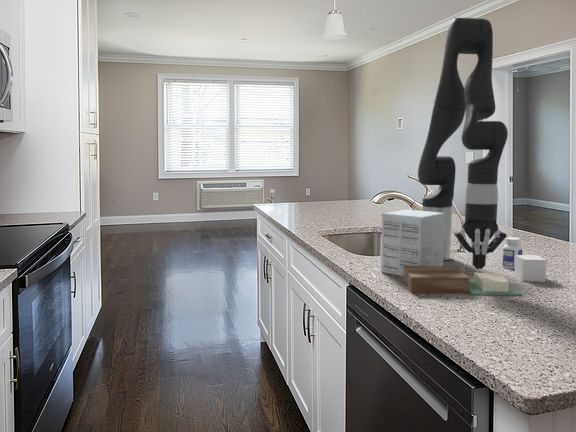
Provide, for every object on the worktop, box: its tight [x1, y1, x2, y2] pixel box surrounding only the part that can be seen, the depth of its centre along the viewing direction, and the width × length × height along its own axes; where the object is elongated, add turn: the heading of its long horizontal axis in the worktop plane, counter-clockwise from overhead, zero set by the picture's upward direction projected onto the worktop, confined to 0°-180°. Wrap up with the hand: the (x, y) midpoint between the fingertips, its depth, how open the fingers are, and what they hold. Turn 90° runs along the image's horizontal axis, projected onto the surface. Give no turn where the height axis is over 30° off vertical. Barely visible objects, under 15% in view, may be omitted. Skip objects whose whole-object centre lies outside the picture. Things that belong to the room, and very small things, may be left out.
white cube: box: [514, 254, 548, 282], centre depth 136 cm, size 6×6×6 cm
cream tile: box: [473, 272, 510, 292], centre depth 127 cm, size 9×6×2 cm, turn 174°
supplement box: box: [380, 209, 445, 277], centre depth 144 cm, size 13×13×18 cm
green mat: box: [469, 278, 523, 296], centre depth 128 cm, size 14×12×1 cm
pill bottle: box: [502, 237, 523, 270], centre depth 149 cm, size 5×5×9 cm
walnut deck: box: [402, 266, 470, 295], centre depth 128 cm, size 12×14×4 cm
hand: (478, 268), depth 127 cm, fingers closed
